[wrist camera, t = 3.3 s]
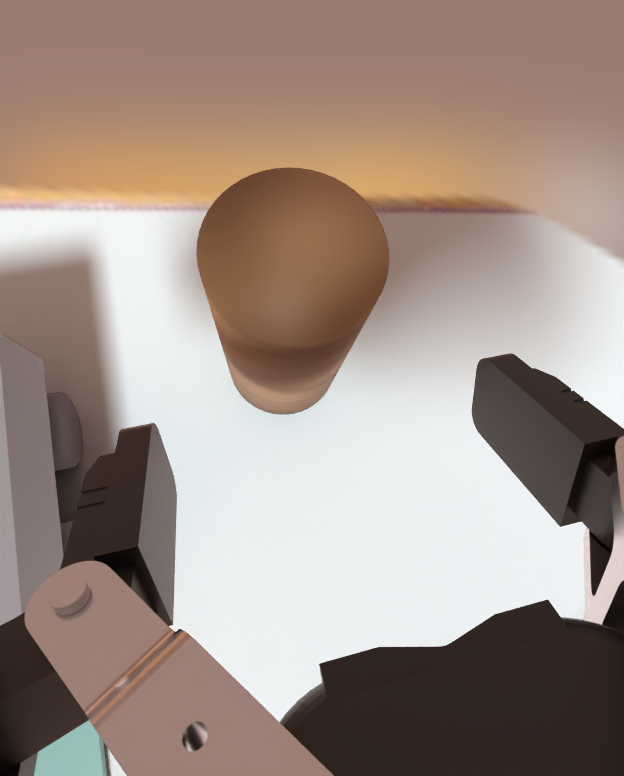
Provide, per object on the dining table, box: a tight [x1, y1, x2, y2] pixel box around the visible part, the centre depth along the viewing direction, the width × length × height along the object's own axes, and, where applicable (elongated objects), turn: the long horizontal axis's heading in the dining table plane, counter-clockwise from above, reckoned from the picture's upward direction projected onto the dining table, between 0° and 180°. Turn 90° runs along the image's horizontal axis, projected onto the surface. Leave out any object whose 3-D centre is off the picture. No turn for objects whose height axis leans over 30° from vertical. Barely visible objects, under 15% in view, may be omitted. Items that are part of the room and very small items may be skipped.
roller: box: [197, 168, 389, 414], centre depth 17 cm, size 5×5×10 cm
